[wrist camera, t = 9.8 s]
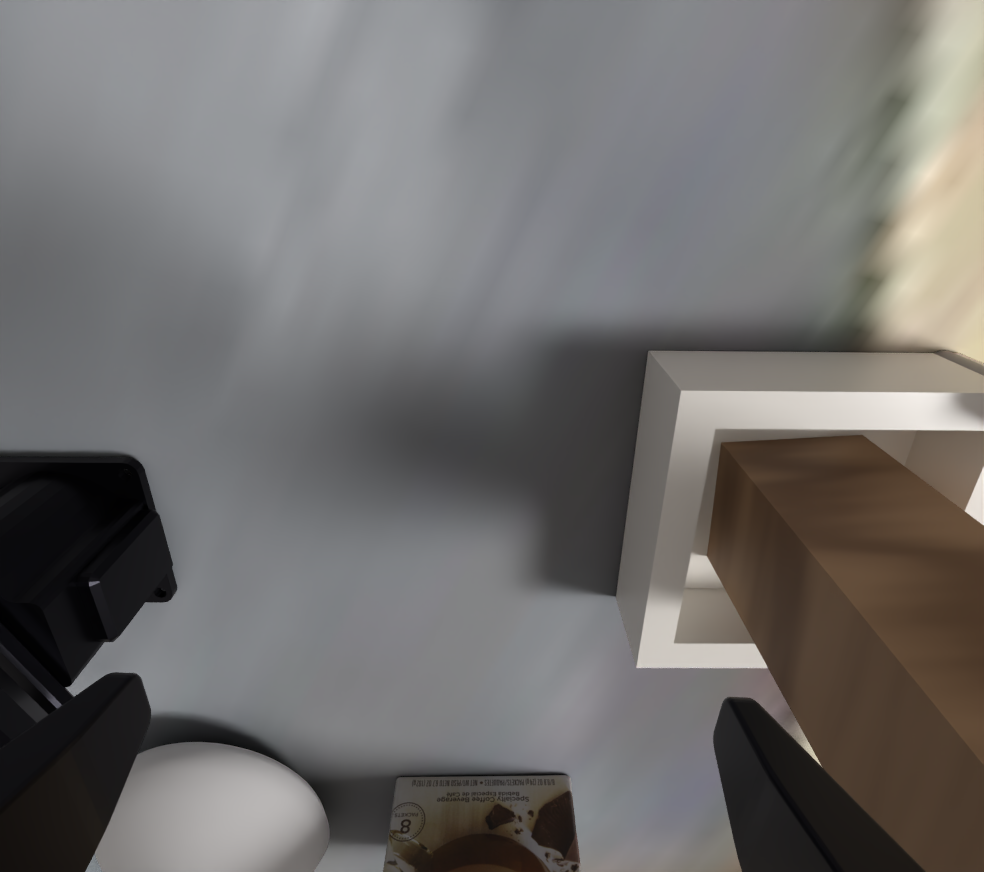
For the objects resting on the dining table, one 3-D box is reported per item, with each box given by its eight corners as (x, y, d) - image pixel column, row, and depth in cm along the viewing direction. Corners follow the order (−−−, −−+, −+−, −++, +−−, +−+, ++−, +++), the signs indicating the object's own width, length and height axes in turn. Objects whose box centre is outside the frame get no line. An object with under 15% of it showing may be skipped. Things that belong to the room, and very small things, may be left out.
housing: (615, 599, 25) (649, 716, 20) (648, 347, 20) (705, 415, 15) (871, 600, 25) (971, 716, 20) (964, 350, 20) (1128, 418, 15)
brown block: (706, 556, 23) (971, 1038, 11) (720, 442, 21) (1075, 878, 8) (834, 549, 23) (1255, 1027, 10) (862, 434, 21) (1434, 862, 8)
